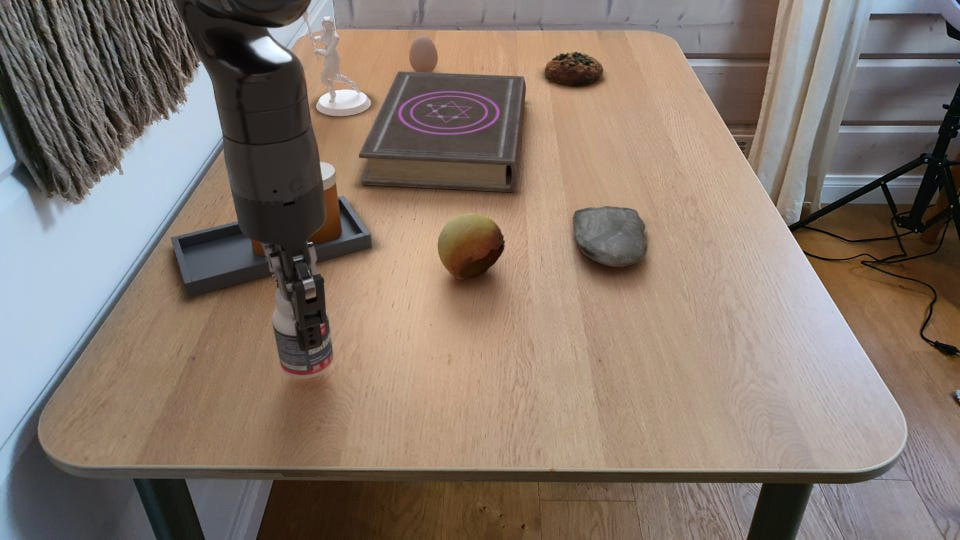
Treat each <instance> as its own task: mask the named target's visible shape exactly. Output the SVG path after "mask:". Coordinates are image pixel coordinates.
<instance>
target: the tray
mask: <svg viewBox="0 0 960 540" xmlns="http://www.w3.org/2000/svg"><path fill="white" fill-rule="evenodd" d="M338 203H339V210H340V218H341V225H342V233H341V235H340V236H339V237H338V238H337V239H335V240H333V241H330V242H326V243H313V245H314V248H315V252H316V256H317V261H316V263H318V262H323V261H326V260H330V259H334V258H337V257H341V256H344V255H348V254H351V253H356V252H359V251H362V250H366V249H370V248H373V243H372V234H371V233H370V231H369V229H368V228H367V227H366V225H365V224H364V223H363V221H362V220H361V218H360V216H359V215H358V214H357V213H356V211H355V209H354V208H353V207H352V206H351V203H350V202H349V200H348V199H347V198H346V196H345V195H340V196H339V195H338ZM170 241H171V244H172V247H173V250H174V251H173V252H174V254H175V258H176V261H177V264H178V267H179V271H180V273H181V277H182V280H183V284H184V287H185V290H186V293H187V294H186V295H187V297H188V298H191V297H195V296H199V295H203V294H206V293H209V292H213V291H216V290H217V291H218V290H220V289H224V288H227V287H228V288H229V287H232V286H235V285H240V284H242V283H246V282H249V281H253V280H257V279H261V278H264V277H267V276H272V272H270V271H269V268H268V265H267V262H266V258H265V257H264V256H260V255H257V254H256V253H255V252H254V251H253V248H252V244H251V239H250V238H248V237H247V236H246V235H244V234H243V232H242V231H241V230H240V228H239V224H238V220H237V221H233V222H229V223H225V224H220V225H217V226H212V227H207V228H204V229H201V230H195V231H193V232H192V231H191V232H188V233H184V234H179V235H175V236H171V237H170ZM307 243H309V241H307Z"/></svg>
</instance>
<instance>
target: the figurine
mask: <svg viewBox="0 0 960 540" xmlns="http://www.w3.org/2000/svg"><path fill="white" fill-rule="evenodd" d="M308 17H309V13H308V9H307V10H306V12H305V13H304V14H303V15H302V19H303V21H304V23H306V25H307V29H308V31H309V35H310V40H311V42H312V46H313V48H314V54H315V57H316V59H317V60H318V61H319V60H320V56H322V57H324V58H323V69H322V71H321V73H320V80H321V83H322V85H323V86H325V88H326V90H327V91H328V92H326V93H324V94H323V95H321V96H320V98H319V99H318V101H317V103H316V105H315V107H316V110H317V111H318V112H319V113H321V114H323V115H327V116H332V117H348V116H353V115H358V114H360V113H363V112H365V111H367V110H368V109H369V108H370V107H371V105H372V101H371V99H370V98H369V97H368V96H367V95H366V94H365V93H364V92H362V91H360V89H359V86H358V83H357V82H355V81H354V80H350V79H349V77H348V76H345V75H343V74H340V65H341V58H340V56H339V52H338V48H337V47H338V43H339V41H340V36H339V34H338V32H337V31H336V28H335V27H336V26H335V19H334V18H332V17H331V16H330V15H328V16H327V15H325V16H323V19H322V18H321V20H320V21H321V26H322V28H321V30H320V35H318V36H314V33H313V32H312V29H311V26H310V22H309V19H308ZM321 42H322V44H323V45H324V46H325V47H324V49H322V48H317V47H316V46H317V45H316V43H321ZM334 82H339V83H342V84H344V85H349V86H350V88H352V89H336V90H335V88H334Z"/></svg>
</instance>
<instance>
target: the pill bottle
mask: <svg viewBox="0 0 960 540" xmlns="http://www.w3.org/2000/svg"><path fill="white" fill-rule="evenodd" d="M286 286H287V288H288V289H291V286H292V284H286ZM274 300H275V306H276V308H275V309H274V312H273V313H272V316H271V318H272V319H271V321H272V328H273V333H274V338H275V345H276V349H277V356H278V359H279V364H280V367H281V370H282V371H283V373H284V374H286V375H288V376H289V377H291V378H295V379H301V380H302V379H303V380H304V379H312V378H315V377H318V376H321V375H322V374H324V373H326V371H327V370H328V369H330V367H331V366H332V364H333V362H334V349H333V342H332V334H331V327H330V319H329V312H328V309H327V308H326V315H327V323H324V324H320V327H321V333H322V340H323V344H322V345H321V346H320V347H318V348H315V349H311V350H308V351H301V350H300V348H299V346H298V342H297V337H296V331H295V326H294V321H292V318H291V316H292V313H291V309H290V305H289V302H288V301H286V300H284V298H283V297H282V296H281V293H280V289H279V288H278V289H276V290H275V293H274Z"/></svg>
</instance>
